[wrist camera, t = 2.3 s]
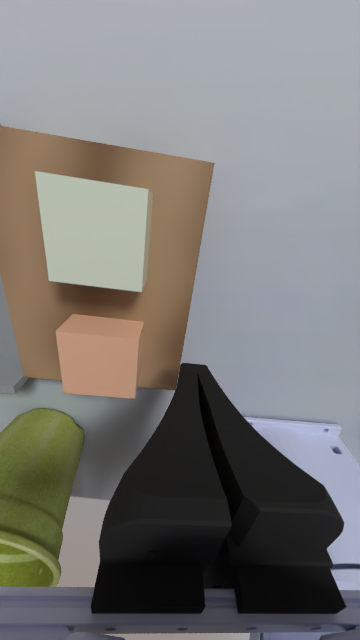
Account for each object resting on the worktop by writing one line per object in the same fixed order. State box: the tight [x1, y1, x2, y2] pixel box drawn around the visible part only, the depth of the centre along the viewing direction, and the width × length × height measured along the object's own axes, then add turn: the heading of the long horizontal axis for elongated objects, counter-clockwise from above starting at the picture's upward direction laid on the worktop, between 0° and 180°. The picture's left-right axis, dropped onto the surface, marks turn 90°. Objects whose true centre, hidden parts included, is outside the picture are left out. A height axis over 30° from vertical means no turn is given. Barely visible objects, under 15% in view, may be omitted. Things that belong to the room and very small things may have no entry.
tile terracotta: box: [56, 314, 144, 399], centre depth 12 cm, size 4×4×2 cm
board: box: [0, 126, 214, 390], centre depth 13 cm, size 10×13×2 cm
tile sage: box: [35, 171, 153, 292], centre depth 10 cm, size 4×4×2 cm
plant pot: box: [0, 409, 84, 587], centre depth 16 cm, size 9×9×9 cm
